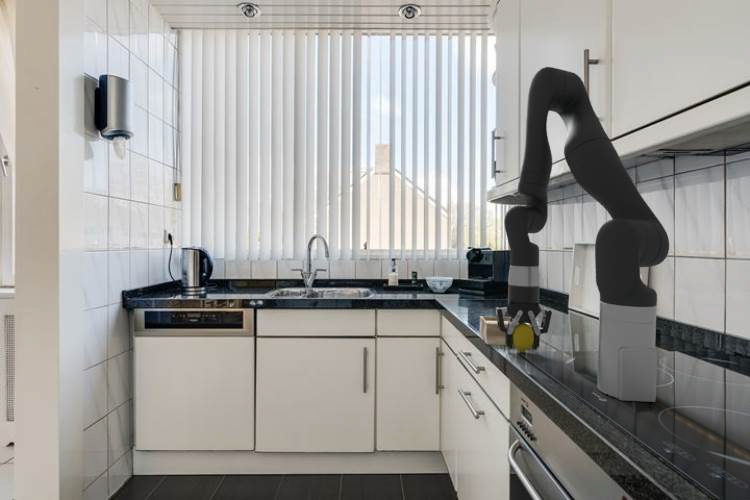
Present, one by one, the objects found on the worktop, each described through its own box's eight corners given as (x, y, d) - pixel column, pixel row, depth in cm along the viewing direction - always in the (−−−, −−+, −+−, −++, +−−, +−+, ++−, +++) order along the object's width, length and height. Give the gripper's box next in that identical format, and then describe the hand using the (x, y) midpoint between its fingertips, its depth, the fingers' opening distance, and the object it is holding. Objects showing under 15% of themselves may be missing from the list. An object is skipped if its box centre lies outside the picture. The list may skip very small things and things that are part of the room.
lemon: (506, 350, 106) (506, 320, 105) (523, 348, 108) (523, 319, 107) (520, 356, 100) (521, 324, 100) (538, 354, 102) (539, 323, 102)
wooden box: (527, 346, 111) (528, 325, 111) (486, 345, 112) (487, 323, 112) (516, 337, 122) (517, 317, 122) (479, 335, 123) (479, 316, 123)
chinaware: (421, 290, 230) (421, 276, 230) (444, 289, 235) (445, 276, 235) (432, 293, 216) (433, 279, 216) (457, 293, 221) (457, 279, 220)
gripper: (498, 284, 100) (497, 351, 101) (558, 285, 99) (556, 353, 100) (492, 281, 108) (490, 343, 108) (547, 282, 107) (545, 345, 107)
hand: (522, 348), depth 104 cm, fingers closed on lemon, 5 cm apart
